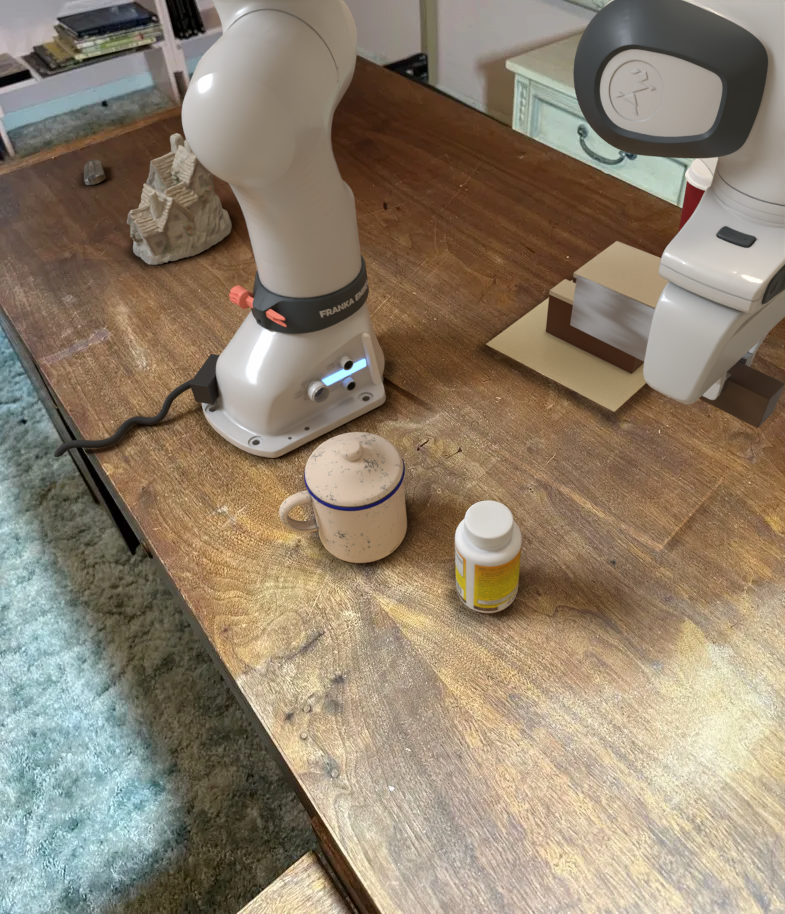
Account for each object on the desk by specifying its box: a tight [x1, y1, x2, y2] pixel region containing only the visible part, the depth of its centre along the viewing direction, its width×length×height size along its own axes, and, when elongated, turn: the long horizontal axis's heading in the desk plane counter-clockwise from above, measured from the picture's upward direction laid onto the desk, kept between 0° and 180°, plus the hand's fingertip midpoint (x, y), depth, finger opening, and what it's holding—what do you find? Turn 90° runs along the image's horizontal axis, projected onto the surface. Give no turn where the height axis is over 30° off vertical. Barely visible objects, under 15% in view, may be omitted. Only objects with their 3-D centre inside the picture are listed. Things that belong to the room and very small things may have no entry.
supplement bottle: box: [454, 499, 523, 614], centre depth 65 cm, size 6×6×10 cm
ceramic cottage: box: [126, 132, 232, 266], centre depth 111 cm, size 16×16×15 cm
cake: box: [571, 240, 668, 309], centre depth 91 cm, size 9×12×6 cm
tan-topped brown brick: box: [546, 278, 644, 374], centre depth 88 cm, size 3×12×6 cm, turn 45°
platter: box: [485, 279, 647, 413], centre depth 92 cm, size 23×18×1 cm
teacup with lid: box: [278, 431, 408, 564], centre depth 70 cm, size 12×9×12 cm
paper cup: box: [678, 157, 718, 232], centre depth 96 cm, size 8×8×14 cm
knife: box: [570, 275, 785, 429], centre depth 61 cm, size 18×2×5 cm, turn 44°
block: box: [83, 159, 107, 186], centre depth 130 cm, size 4×6×2 cm, turn 20°
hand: (721, 379), depth 59 cm, fingers closed on knife, 2 cm apart
